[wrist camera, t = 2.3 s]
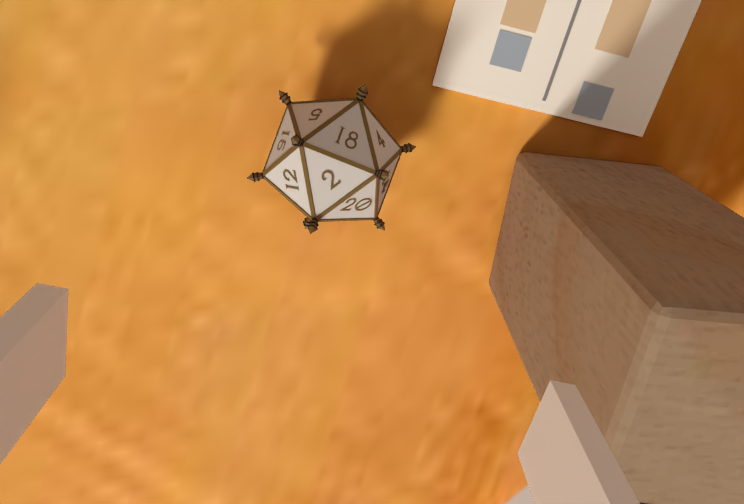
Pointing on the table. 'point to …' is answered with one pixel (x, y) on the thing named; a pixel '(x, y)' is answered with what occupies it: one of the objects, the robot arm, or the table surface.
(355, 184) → the game die
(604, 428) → the wooden block
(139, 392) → the table surface
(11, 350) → the robot arm
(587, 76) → the page
